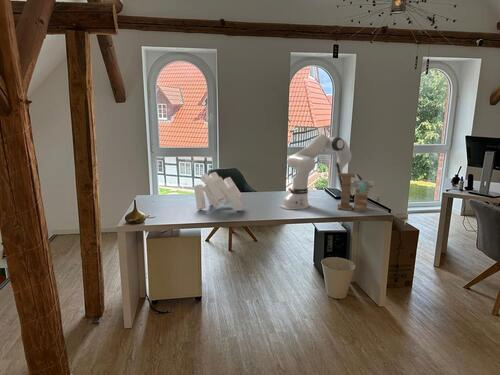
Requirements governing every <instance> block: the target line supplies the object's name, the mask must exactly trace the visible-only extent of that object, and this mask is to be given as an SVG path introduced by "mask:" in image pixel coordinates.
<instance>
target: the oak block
mask: <svg viewBox="0 0 500 375" xmlns="http://www.w3.org/2000/svg"><path fill="white" fill-rule="evenodd" d="M368 192H369V191H367V188H365V193H360V192H359V188H355V194H354V200H353V201H354V203H353V208H354V209H353V210H354V212H361V213H362V212H363V213H366V212H367V207H368V205H367V204H368V195H369V193H368Z"/></svg>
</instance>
